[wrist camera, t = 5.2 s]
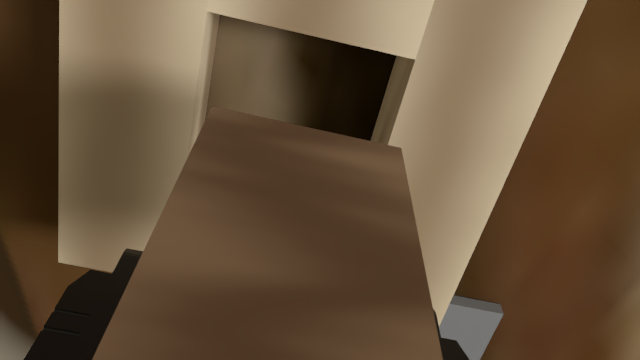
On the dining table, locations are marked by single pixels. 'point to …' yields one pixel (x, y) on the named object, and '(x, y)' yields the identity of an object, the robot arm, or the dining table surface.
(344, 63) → the dining table surface
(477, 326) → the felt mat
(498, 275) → the dining table surface
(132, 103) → the pocket frame
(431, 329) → the walnut block
